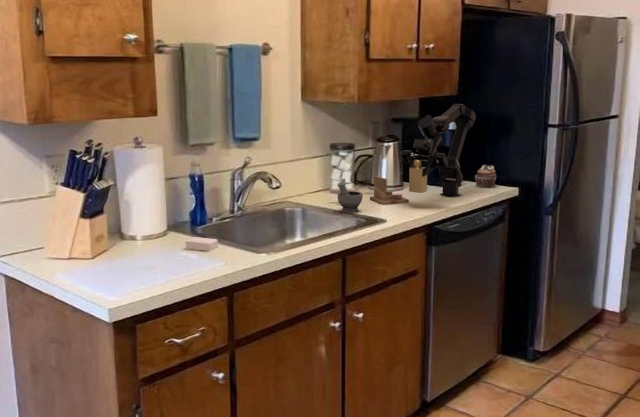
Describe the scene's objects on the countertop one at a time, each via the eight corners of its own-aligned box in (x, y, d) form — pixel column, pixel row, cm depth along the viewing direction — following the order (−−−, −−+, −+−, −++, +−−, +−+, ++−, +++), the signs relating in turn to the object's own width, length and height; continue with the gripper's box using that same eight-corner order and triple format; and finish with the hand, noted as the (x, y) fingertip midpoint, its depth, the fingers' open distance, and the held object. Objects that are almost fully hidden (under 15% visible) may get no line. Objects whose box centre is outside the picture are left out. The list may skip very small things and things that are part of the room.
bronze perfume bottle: (414, 189, 267) (415, 158, 264) (426, 191, 264) (427, 159, 261) (409, 191, 264) (409, 160, 261) (421, 193, 260) (422, 161, 258)
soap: (218, 248, 210) (218, 238, 209) (209, 252, 205) (209, 243, 204) (194, 245, 213) (194, 236, 212) (184, 249, 208) (184, 240, 208)
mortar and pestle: (350, 207, 266) (350, 177, 264) (367, 210, 260) (367, 180, 257) (330, 211, 259) (329, 181, 256) (347, 215, 252) (347, 184, 249)
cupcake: (475, 184, 314) (476, 163, 312) (496, 185, 311) (497, 163, 309) (473, 187, 305) (474, 166, 303) (495, 188, 302) (496, 166, 300)
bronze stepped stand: (395, 197, 285) (395, 173, 283) (408, 202, 274) (409, 177, 272) (369, 199, 281) (369, 175, 278) (382, 204, 270) (382, 180, 267)
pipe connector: (356, 200, 279) (356, 176, 277) (354, 205, 269) (354, 180, 267) (332, 200, 280) (332, 176, 278) (330, 205, 270) (330, 180, 268)
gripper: (403, 130, 267) (388, 160, 261) (445, 132, 256) (431, 164, 250) (412, 147, 275) (398, 177, 269) (454, 150, 264) (440, 182, 258)
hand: (416, 175), depth 261 cm, fingers closed on bronze perfume bottle, 5 cm apart
